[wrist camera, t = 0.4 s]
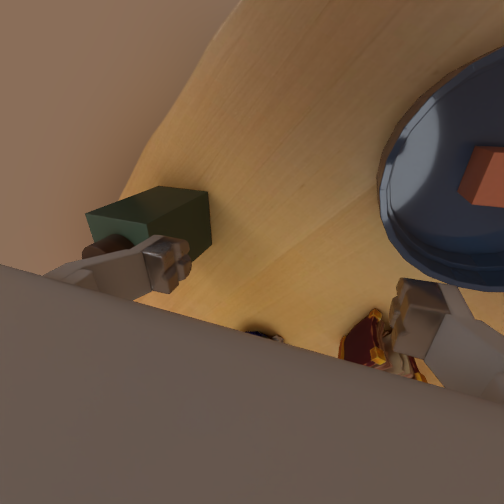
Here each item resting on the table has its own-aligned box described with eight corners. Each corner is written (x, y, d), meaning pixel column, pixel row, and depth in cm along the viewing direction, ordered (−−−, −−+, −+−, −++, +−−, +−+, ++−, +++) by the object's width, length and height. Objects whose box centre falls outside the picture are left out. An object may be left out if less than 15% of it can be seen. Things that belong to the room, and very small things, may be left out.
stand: (158, 185, 37) (84, 213, 27) (208, 191, 34) (146, 224, 25) (167, 236, 41) (105, 276, 31) (212, 244, 38) (160, 291, 29)
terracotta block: (474, 145, 22) (494, 152, 19) (533, 148, 21) (565, 155, 18) (456, 191, 24) (471, 204, 21) (509, 196, 23) (534, 211, 20)
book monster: (379, 300, 33) (445, 357, 34) (327, 329, 38) (385, 378, 39) (387, 375, 24) (475, 448, 25) (318, 399, 30) (394, 458, 31)
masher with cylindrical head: (101, 230, 27) (-87, 317, 16) (135, 237, 26) (-44, 338, 15) (112, 267, 30) (-46, 366, 18) (144, 275, 28) (-5, 388, 17)
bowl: (405, 49, 22) (417, 31, 17) (733, 30, 16) (897, -6, 11) (360, 243, 30) (359, 269, 25) (561, 274, 25) (610, 315, 20)
